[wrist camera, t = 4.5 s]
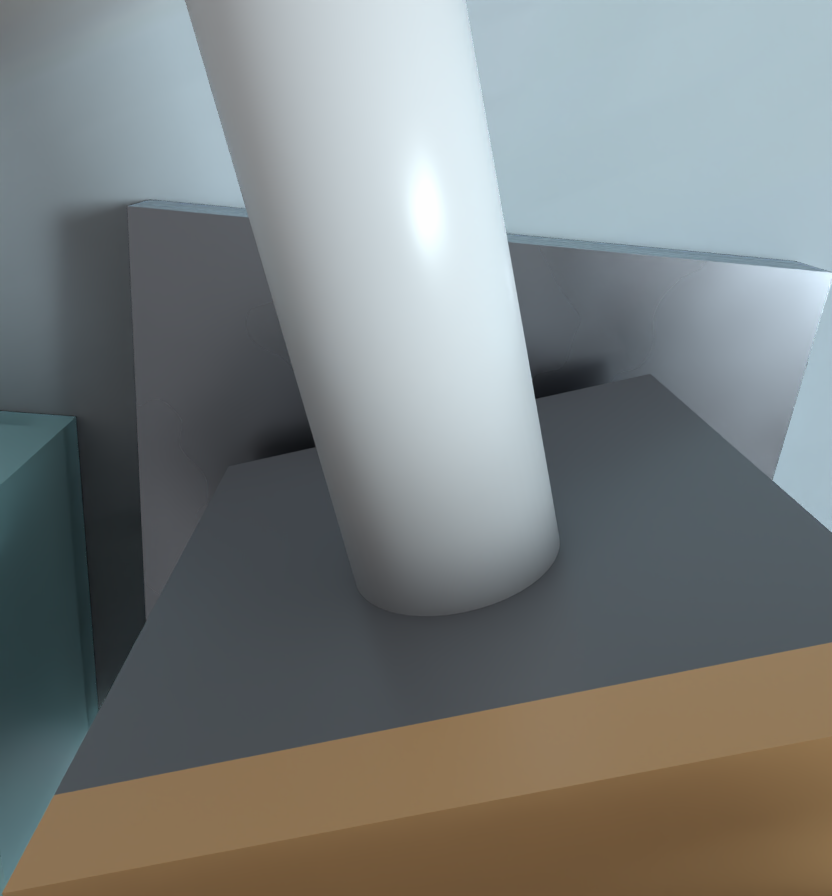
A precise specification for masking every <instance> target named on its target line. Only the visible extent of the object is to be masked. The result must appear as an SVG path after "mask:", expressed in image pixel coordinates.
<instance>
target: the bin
mask: <svg viewBox="0 0 832 896" xmlns="http://www.w3.org/2000/svg"><path fill="white" fill-rule="evenodd" d="M97 713H98V698H97V685H96V672H95V659H94V646H93V633H92V620H91V607H90V594H89V581H88V568H87V555H86V542H85V529H84V516H83V503H82V490H81V477H80V464H79V451H78V438H77V425H76V417H74V416H60V415H47V414H34V413H21V412H7V411H0V896H3V895H2V892H3V890H4V888H5V887H6V885H7V883H8V881H9V879H10V877H11V875H12V873H13V872H14V870H15V868H16V866H17V864H18V862H19V860H20V858H21V856H22V855H23V853H24V851H25V849H26V847H27V845H28V843H29V841H30V839H31V838H32V836H33V834H34V832H35V830H36V828H37V826H38V824H39V822H40V821H41V819H42V817H43V815H44V813H45V811H46V809H47V807H48V806H49V804H50V802H51V800H52V798H53V796H54V794H55V792H56V790H57V789H58V787H59V785H60V783H61V781H62V779H63V777H64V775H65V773H66V772H67V770H68V768H69V766H70V764H71V762H72V760H73V758H74V757H75V755H76V753H77V751H78V749H79V747H80V745H81V743H82V741H83V740H84V738H85V736H86V734H87V732H88V730H89V728H90V726H91V724H92V723H93V721H94V719H95V717H96V715H97Z"/></svg>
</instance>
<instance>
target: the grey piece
mask: <svg viewBox="0 0 832 896" xmlns="http://www.w3.org/2000/svg"><path fill="white" fill-rule="evenodd" d="M127 214H128V236H129V258H130V281H131V303H132V325H133V347H134V370H135V392H136V414H137V436H138V459H139V481H140V503H141V525H142V548H143V570H144V592H145V614H146V621H147V619H148V617H149V615H150V613H151V611H152V609H153V608H154V606H155V604H156V602H157V600H158V598H159V596H160V594H161V592H162V591H163V589H164V587H165V585H166V583H167V581H168V579H169V577H170V575H171V574H172V572H173V570H174V568H175V566H176V564H177V562H178V560H179V559H180V557H181V555H182V553H183V551H184V549H185V547H186V545H187V543H188V542H189V540H190V538H191V536H192V534H193V532H194V530H195V528H196V526H197V525H198V523H199V521H200V519H201V517H202V515H203V513H204V511H205V510H206V508H207V506H208V504H209V502H210V500H211V498H212V496H213V494H214V493H215V491H216V489H217V487H218V485H219V483H220V481H221V479H222V477H223V476H224V474H225V472H226V470H227V468H228V466H232V465H237V464H241V463H246V462H251V461H255V460H260V459H264V458H269V457H273V456H278V455H282V454H287V453H292V452H296V451H301V450H305V449H310V448H314V447H316V446H315V442H314V439H313V435H312V432H311V429H310V425H309V422H308V418H307V415H306V411H305V408H304V405H303V401H302V398H301V394H300V391H299V388H298V384H297V381H296V377H295V374H294V371H293V367H292V364H291V360H290V357H289V353H288V350H287V347H286V343H285V340H284V336H283V333H282V330H281V326H280V323H279V319H278V316H277V312H276V309H275V306H274V302H273V299H272V295H271V292H270V289H269V285H268V282H267V278H266V275H265V272H264V268H263V265H262V261H261V258H260V254H259V251H258V248H257V244H256V241H255V237H254V234H253V231H252V227H251V224H250V220H249V217H248V213H247V210H246V209H244V208H234V207H224V206H213V205H203V204H192V203H182V202H171V201H161V200H147V201H143V202H140V203H136V204H133V205H129V206H127ZM507 240H508V246H509V251H510V257H511V263H512V268H513V274H514V280H515V286H516V291H517V297H518V303H519V309H520V314H521V320H522V326H523V332H524V337H525V343H526V349H527V354H528V360H529V366H530V372H531V377H532V383H533V389H534V395H535V399H538V398H542V397H547V396H551V395H556V394H560V393H565V392H569V391H574V390H579V389H583V388H588V387H592V386H597V385H601V384H606V383H610V382H615V381H620V380H624V379H629V378H633V377H638V376H642V375H647V374H651V375H652V376H654V377H655V378H656V379H657V380H658V381H659V382H660V383H662V384H663V385H664V386H665V387H666V388H667V389H668V390H670V391H671V392H672V393H673V394H674V395H675V396H676V397H678V398H679V399H680V400H681V401H682V402H683V403H684V404H686V405H687V406H688V407H689V408H690V409H691V410H692V411H693V412H695V413H696V414H697V415H698V416H699V417H700V418H701V419H703V420H704V421H705V422H706V423H707V424H708V425H709V426H711V427H712V428H713V429H714V430H715V431H716V432H717V433H719V434H720V435H721V436H722V437H723V438H724V439H725V440H727V441H728V442H729V443H730V444H731V445H732V446H733V447H735V448H736V449H737V450H738V451H739V452H740V453H741V454H743V455H744V456H745V457H746V458H747V459H748V460H749V461H751V462H752V463H753V464H754V465H755V466H756V467H757V468H759V469H760V470H761V471H762V472H763V473H764V474H765V475H766V476H768V477H769V478H770V479H771V480H773V476H774V473H775V470H776V466H777V463H778V460H779V456H780V453H781V450H782V446H783V443H784V440H785V436H786V433H787V430H788V426H789V423H790V420H791V416H792V413H793V410H794V406H795V403H796V399H797V396H798V393H799V389H800V386H801V383H802V379H803V376H804V373H805V369H806V366H807V363H808V359H809V356H810V353H811V349H812V346H813V343H814V339H815V336H816V333H817V329H818V326H819V323H820V319H821V316H822V312H823V309H824V306H825V302H826V299H827V296H828V292H829V289H830V286H831V282H832V272H830V271H826V270H823V269H820V268H817V267H813V266H810V265H807V264H804V263H800V262H797V261H789V260H779V259H768V258H758V257H747V256H737V255H726V254H716V253H705V252H695V251H684V250H674V249H663V248H653V247H643V246H632V245H622V244H611V243H601V242H590V241H580V240H569V239H559V238H548V237H538V236H527V235H517V234H507Z"/></svg>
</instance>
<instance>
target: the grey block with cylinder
mask: <svg viewBox="0 0 832 896" xmlns="http://www.w3.org/2000/svg"><path fill="white" fill-rule="evenodd" d="M185 2H186V5H187V9H188V12H189V15H190V19H191V22H192V26H193V29H194V33H195V36H196V39H197V43H198V46H199V50H200V53H201V56H202V60H203V63H204V67H205V70H206V73H207V77H208V80H209V84H210V87H211V91H212V94H213V97H214V101H215V104H216V108H217V111H218V114H219V118H220V121H221V125H222V128H223V132H224V135H225V138H226V142H227V145H228V149H229V152H230V155H231V159H232V162H233V166H234V169H235V172H236V176H237V179H238V183H239V186H240V190H241V193H242V196H243V200H244V203H245V207H246V210H247V213H248V217H249V220H250V224H251V227H252V231H253V234H254V237H255V241H256V244H257V248H258V251H259V254H260V258H261V261H262V265H263V268H264V272H265V275H266V278H267V282H268V285H269V289H270V292H271V295H272V299H273V302H274V306H275V309H276V312H277V316H278V319H279V323H280V326H281V330H282V333H283V336H284V340H285V343H286V347H287V350H288V353H289V357H290V360H291V364H292V367H293V371H294V374H295V377H296V381H297V384H298V388H299V391H300V394H301V398H302V401H303V405H304V408H305V411H306V415H307V418H308V422H309V425H310V429H311V432H312V435H313V439H314V442H315V446H316V447H314V448H310V449H305V450H301V451H296V452H292V453H287V454H282V455H278V456H273V457H269V458H264V459H260V460H255V461H251V462H246V463H241V464H237V465H232V466H228V468H227V470H226V472H225V474H224V476H223V477H222V479H221V481H220V483H219V485H218V487H217V489H216V491H215V493H214V494H213V496H212V498H211V500H210V502H209V504H208V506H207V508H206V510H205V511H204V513H203V515H202V517H201V519H200V521H199V523H198V525H197V526H196V528H195V530H194V532H193V534H192V536H191V538H190V540H189V542H188V543H187V545H186V547H185V549H184V551H183V553H182V555H181V557H180V559H179V560H178V562H177V564H176V566H175V568H174V570H173V572H172V574H171V575H170V577H169V579H168V581H167V583H166V585H165V587H164V589H163V591H162V592H161V594H160V596H159V598H158V600H157V602H156V604H155V606H154V608H153V609H152V611H151V613H150V615H149V617H148V619H147V621H146V623H145V625H144V626H143V628H142V630H141V632H140V634H139V636H138V638H137V640H136V641H135V643H134V645H133V647H132V649H131V651H130V653H129V655H128V657H127V658H126V660H125V662H124V664H123V666H122V668H121V670H120V672H119V674H118V675H117V677H116V679H115V681H114V683H113V685H112V687H111V689H110V691H109V692H108V694H107V696H106V698H105V700H104V702H103V704H102V706H101V707H100V709H99V711H98V713H97V715H96V717H95V719H94V721H93V723H92V724H91V726H90V728H89V730H88V732H87V734H86V736H85V738H84V740H83V741H82V743H81V745H80V747H79V749H78V751H77V753H76V755H75V757H74V758H73V760H72V762H71V764H70V766H69V768H68V770H67V772H66V773H65V775H64V777H63V779H62V781H61V783H60V785H59V787H58V789H57V790H56V792H55V794H54V796H53V798H52V800H51V802H50V804H49V806H48V807H47V809H46V811H45V813H44V815H43V817H42V819H41V821H40V822H39V824H38V826H37V828H36V830H35V832H34V834H33V836H32V838H31V839H30V841H29V843H28V845H27V847H26V849H25V851H24V853H23V855H22V856H21V858H20V860H19V862H18V864H17V866H16V868H15V870H14V872H13V873H12V875H11V877H10V879H9V881H8V883H7V885H6V887H5V888H4V890H3V892H2V895H3V896H832V532H830V531H829V530H828V529H827V528H826V527H825V526H824V525H822V524H821V523H820V522H819V521H818V520H817V519H816V518H814V517H813V516H812V515H811V514H810V513H809V512H808V511H806V510H805V509H804V508H803V507H802V506H801V505H800V504H798V503H797V502H796V501H795V500H794V499H793V498H792V497H790V496H789V495H788V494H787V493H786V492H785V491H784V490H782V489H781V488H780V487H779V486H778V485H777V484H776V483H774V482H773V481H772V480H771V479H770V478H769V477H768V476H766V475H765V474H764V473H763V472H762V471H761V470H760V469H759V468H757V467H756V466H755V465H754V464H753V463H752V462H751V461H749V460H748V459H747V458H746V457H745V456H744V455H743V454H741V453H740V452H739V451H738V450H737V449H736V448H735V447H733V446H732V445H731V444H730V443H729V442H728V441H727V440H725V439H724V438H723V437H722V436H721V435H720V434H719V433H717V432H716V431H715V430H714V429H713V428H712V427H711V426H709V425H708V424H707V423H706V422H705V421H704V420H703V419H701V418H700V417H699V416H698V415H697V414H696V413H695V412H693V411H692V410H691V409H690V408H689V407H688V406H687V405H686V404H684V403H683V402H682V401H681V400H680V399H679V398H678V397H676V396H675V395H674V394H673V393H672V392H671V391H670V390H668V389H667V388H666V387H665V386H664V385H663V384H662V383H660V382H659V381H658V380H657V379H656V378H655V377H654V376H652V375H651V374H647V375H642V376H638V377H633V378H629V379H624V380H620V381H615V382H610V383H606V384H601V385H597V386H592V387H588V388H583V389H579V390H574V391H569V392H565V393H560V394H556V395H551V396H547V397H542V398H538V399H535V395H534V389H533V383H532V377H531V372H530V366H529V360H528V354H527V349H526V343H525V337H524V332H523V326H522V320H521V314H520V309H519V303H518V297H517V291H516V286H515V280H514V274H513V268H512V263H511V257H510V251H509V246H508V240H507V234H506V228H505V223H504V217H503V211H502V205H501V200H500V194H499V188H498V182H497V177H496V171H495V165H494V160H493V154H492V148H491V142H490V137H489V131H488V125H487V119H486V114H485V108H484V102H483V96H482V91H481V85H480V79H479V74H478V68H477V62H476V56H475V51H474V45H473V39H472V33H471V28H470V22H469V16H468V10H467V5H466V0H185Z"/></svg>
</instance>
